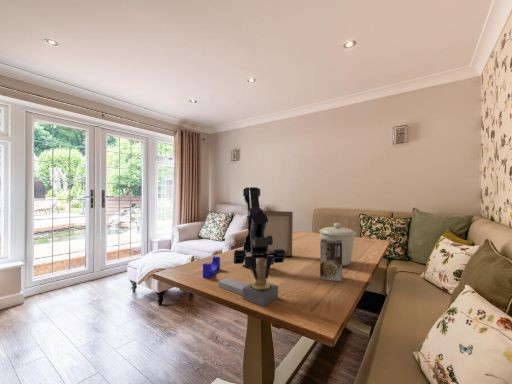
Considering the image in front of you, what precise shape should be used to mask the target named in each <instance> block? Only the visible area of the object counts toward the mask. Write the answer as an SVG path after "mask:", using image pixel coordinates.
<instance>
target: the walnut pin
mask: <svg viewBox="0 0 512 384" xmlns="http://www.w3.org/2000/svg"><path fill="white" fill-rule="evenodd" d="M255 270H256V279H255V280H254V281H252V282H251V283H252V288H254V289H257V290H260V291H264V290H266V289H268V288H269V287H270V284H271V283H270V282H269V281H268V280H267V279H266V258H256V268H255Z"/></svg>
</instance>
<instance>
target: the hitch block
mask: <svg viewBox="0 0 512 384" xmlns="http://www.w3.org/2000/svg"><path fill="white" fill-rule="evenodd" d="M218 288H221V289H224V290H227V291H230V292H232V293H235V294H238V295H240V296H242V299H243V300H246V301H248V302H249V303H252V304H255V305H258V306H261V307H265V306H267V305H268V304H270V303H271V302H273V301H274V300H276V299H277V298H278V297H279V286H278V285H276V284H274V283H270V287H269V288H268V289H266V290H264V291H260V290H257V289H254V288H252V282H251V283H249V284H247V283H245V282H242V281H239V280H236V279H232V278H230V277H226V278H224V279H222V280H218Z"/></svg>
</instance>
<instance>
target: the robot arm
mask: <svg viewBox="0 0 512 384" xmlns="http://www.w3.org/2000/svg"><path fill="white" fill-rule="evenodd" d="M242 197H244V202H245V204H246V206H247V215H246V224H247V235H246V236H245V237H244V242H242V243H243V246H242V249H235V250H234V251H233V264H235V265H239V264H242V267H244V268H247V269H249V270H250V272H251V274H252V276H253V278H254V280H256V258H266V280H268V279H269V278H268V277H269V273H270V268H271V266H273V265H274V264H281V263H284V261H285V258H286V257H287V256H286V253H285V251H284V250H283V249H274V252H273V253H267V251H268V245H272V244H273V238H272V236H267V237H265V233H264V231H265V229H266V224H267V222H268V219H267V216H266V215H265V214H264V213H263V211H264V210H263V209H262V208H261V206H260V199H259V198H260V197H261V188H258V187H256V186H255V187H254V186H253V187H252V186H251V187H250V186H249V187H245V188H243V189H242Z"/></svg>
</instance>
